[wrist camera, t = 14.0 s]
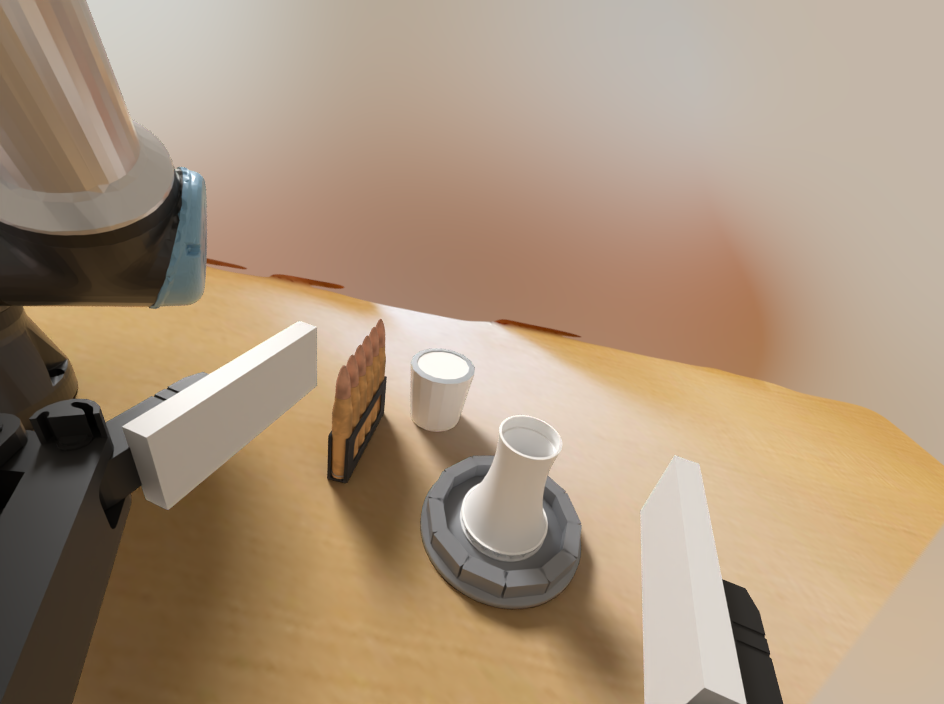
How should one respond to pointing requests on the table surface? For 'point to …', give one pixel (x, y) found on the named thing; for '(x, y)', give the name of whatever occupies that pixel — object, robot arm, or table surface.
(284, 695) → the table surface
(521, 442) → the vase
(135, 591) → the table surface
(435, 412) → the shot glass
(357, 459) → the ammunition clip
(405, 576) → the table surface
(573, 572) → the socket ring
